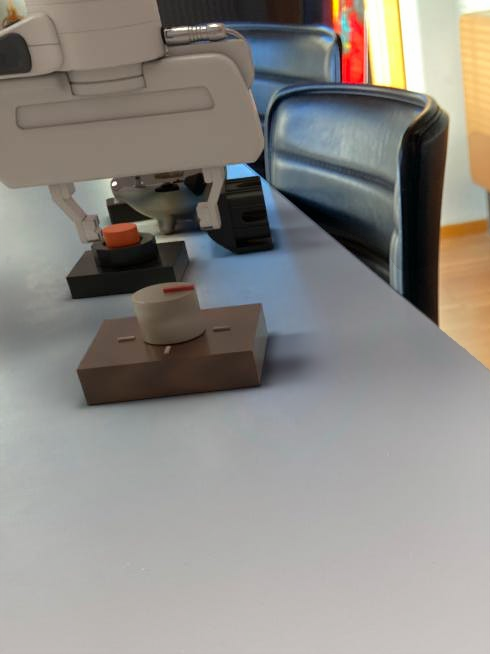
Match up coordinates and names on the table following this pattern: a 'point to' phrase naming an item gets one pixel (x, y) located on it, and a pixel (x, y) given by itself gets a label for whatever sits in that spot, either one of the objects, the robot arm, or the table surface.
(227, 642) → the table surface
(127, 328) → the dial panel
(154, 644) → the table surface
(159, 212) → the piggy bank
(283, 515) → the table surface
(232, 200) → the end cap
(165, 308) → the dial knob
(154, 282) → the box
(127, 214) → the multiport hub
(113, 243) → the button
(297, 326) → the table surface
